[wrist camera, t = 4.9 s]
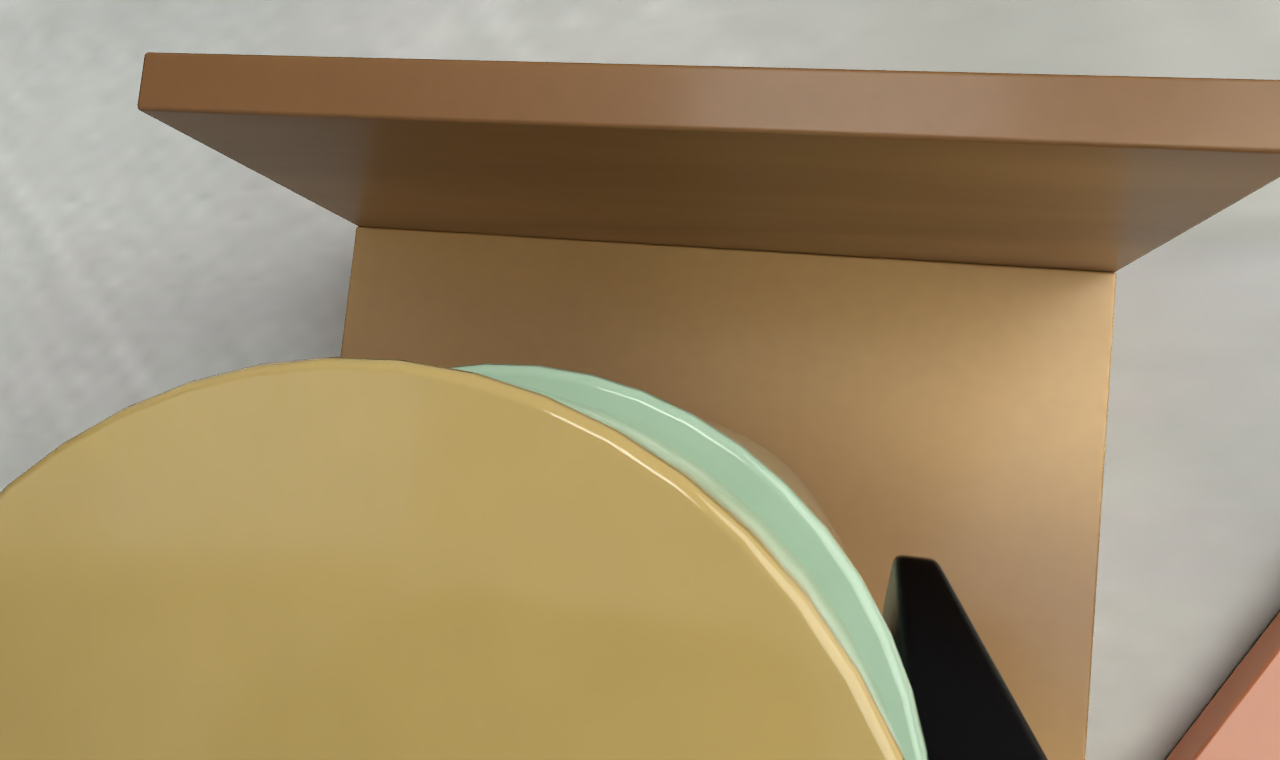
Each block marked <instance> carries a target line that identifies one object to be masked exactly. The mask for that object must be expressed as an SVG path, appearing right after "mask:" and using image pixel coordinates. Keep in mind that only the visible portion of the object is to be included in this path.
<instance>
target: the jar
mask: <svg viewBox="0 0 1280 760" xmlns="http://www.w3.org/2000/svg"><path fill="white" fill-rule="evenodd" d="M0 760H928V753H927V749H926V745H925V740H924V736H923V732H922V728H921V723H920V719H919V715H918V711H917V706H916V702H915V698H914V694H913V690H912V687H911V685H910V682H909V679H908V677H907V674H906V672H905V669H904V666H903V664H902V661H901V658H900V656H899V653H898V650H897V648H896V645H895V642H894V640H893V637H892V634H891V632H890V630H889V628H888V626H887V624H886V622H885V620H884V619H883V617H882V615H881V613H880V611H879V609H878V607H877V605H876V603H875V601H874V600H873V598H872V596H871V594H870V592H869V590H868V588H867V586H866V584H865V583H864V581H863V579H862V577H861V575H860V573H859V572H858V570H857V568H856V566H855V564H854V563H853V561H852V559H851V557H850V556H849V554H848V552H847V550H846V548H845V547H844V545H843V543H842V541H841V540H840V538H839V536H838V534H837V532H836V531H835V529H834V527H833V525H832V524H831V522H830V520H829V518H828V516H827V515H826V513H825V511H824V509H823V508H822V506H821V504H820V502H819V501H818V499H817V498H816V497H815V495H814V494H813V492H812V491H811V490H810V488H809V487H808V485H807V484H806V483H805V482H804V481H803V480H802V478H801V477H800V476H799V475H798V474H797V473H796V472H795V471H794V470H793V469H792V468H791V467H790V466H789V465H788V464H787V463H786V462H784V461H783V460H782V459H781V458H780V457H778V456H777V455H776V454H775V453H774V452H772V451H770V450H769V449H767V448H766V447H764V446H763V445H761V444H760V443H758V442H756V441H755V440H753V439H750V438H748V437H746V436H744V435H742V434H740V433H738V432H736V431H733V430H731V429H729V428H727V427H724V426H722V425H720V424H718V423H715V422H713V421H711V420H708V419H706V418H704V417H702V416H699V415H697V414H695V413H693V412H690V411H688V410H686V409H683V408H681V407H679V406H677V405H674V404H672V403H670V402H668V401H665V400H663V399H661V398H658V397H656V396H654V395H652V394H649V393H647V392H645V391H642V390H639V389H636V388H633V387H630V386H626V385H623V384H620V383H617V382H614V381H611V380H608V379H604V378H601V377H598V376H595V375H592V374H586V373H580V372H575V371H569V370H563V369H558V368H552V367H546V366H540V365H518V364H491V363H486V364H476V365H465V366H455V367H441V366H435V365H429V364H424V363H418V362H413V361H407V360H401V359H374V358H348V357H324V358H314V359H304V360H295V361H285V362H275V363H265V364H258V365H254V366H250V367H246V368H242V369H238V370H234V371H230V372H226V373H222V374H218V375H214V376H210V377H206V378H202V379H198V380H193V381H191V382H188V383H186V384H183V385H181V386H178V387H176V388H173V389H171V390H168V391H166V392H163V393H161V394H158V395H156V396H153V397H151V398H148V399H146V400H143V401H141V402H138V403H136V404H133V405H131V406H129V407H127V408H125V409H123V410H121V411H119V412H118V413H116V414H114V415H112V416H111V417H109V418H107V419H105V420H103V421H102V422H100V423H98V424H96V425H95V426H93V427H91V428H89V429H88V430H86V431H84V432H82V433H80V434H79V435H77V436H75V437H73V438H72V439H70V440H68V441H66V442H65V443H63V444H62V445H60V446H59V447H58V448H56V449H55V450H54V451H52V452H51V453H50V454H48V455H47V456H46V457H44V458H43V459H42V460H40V461H39V462H38V463H36V464H35V465H34V466H32V467H31V468H30V469H28V470H27V471H26V472H24V473H23V474H22V475H21V476H19V477H18V478H17V479H15V480H14V481H13V482H11V483H10V484H9V485H8V486H7V487H6V488H4V489H3V490H2V491H1V492H0Z"/></svg>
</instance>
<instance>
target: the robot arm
mask: <svg viewBox="0 0 1280 760" xmlns="http://www.w3.org/2000/svg"><path fill="white" fill-rule="evenodd" d="M882 617H883V619H884V620H885V622H886V624H887V626H888V628H889V630H890V632H891V634H892V637H893V640H894V642H895V645H896V648H897V650H898V653H899V656H900V658H901V661H902V664H903V666H904V669H905V672H906V674H907V677H908V679H909V682H910V685H911V687H912V690H913V694H914V698H915V702H916V706H917V711H918V715H919V719H920V723H921V728H922V732H923V736H924V740H925V745H926V749H927V753H928V760H1048V759H1047V757H1046V755H1045V753H1044V751H1043V750H1042V748H1041V746H1040V744H1039V742H1038V741H1037V739H1036V737H1035V735H1034V733H1033V732H1032V730H1031V728H1030V726H1029V724H1028V723H1027V721H1026V719H1025V717H1024V715H1023V714H1022V712H1021V710H1020V708H1019V706H1018V705H1017V703H1016V701H1015V699H1014V697H1013V696H1012V694H1011V692H1010V690H1009V688H1008V687H1007V685H1006V683H1005V681H1004V679H1003V678H1002V676H1001V674H1000V672H999V670H998V669H997V667H996V665H995V663H994V662H993V660H992V658H991V656H990V654H989V653H988V651H987V649H986V647H985V645H984V644H983V642H982V640H981V638H980V636H979V635H978V633H977V631H976V629H975V627H974V626H973V624H972V622H971V620H970V618H969V617H968V615H967V613H966V611H965V609H964V608H963V606H962V604H961V602H960V600H959V599H958V597H957V595H956V593H955V591H954V590H953V588H952V586H951V584H950V582H949V581H948V579H947V577H946V575H945V573H944V572H943V570H942V568H941V567H940V565H939V564H938V563H937V562H936V561H935V560H934V559H931V558H925V557H917V556H908V555H898V556H896V557H895V558H894V560H893V563H892V567H891V572H890V577H889V581H888V586H887V591H886V596H885V600H884V606H883V615H882Z"/></svg>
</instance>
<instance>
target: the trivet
mask: <svg viewBox="0 0 1280 760" xmlns="http://www.w3.org/2000/svg"><path fill="white" fill-rule="evenodd" d="M1166 760H1280V612H1279V613H1278V614H1277V616H1276V617H1275V618H1274V620H1273V621H1272V622H1271V623H1270V625H1269V626H1268V627H1267V629H1266V630H1265V631H1264V633H1263V634H1262V635H1261V636H1260V638H1259V639H1258V640H1257V642H1256V643H1255V644H1254V645H1253V647H1252V648H1251V649H1250V651H1249V652H1248V653H1247V655H1246V656H1245V657H1244V658H1243V660H1242V661H1241V662H1240V664H1239V665H1238V666H1237V668H1236V669H1235V670H1234V671H1233V673H1232V674H1231V675H1230V677H1229V678H1228V679H1227V681H1226V682H1225V683H1224V684H1223V686H1222V687H1221V688H1220V690H1219V691H1218V692H1217V694H1216V695H1215V696H1214V697H1213V699H1212V700H1211V701H1210V703H1209V704H1208V705H1207V707H1206V708H1205V709H1204V710H1203V712H1202V713H1201V714H1200V716H1199V717H1198V718H1197V720H1196V721H1195V722H1194V723H1193V725H1192V726H1191V727H1190V729H1189V730H1188V731H1187V733H1186V734H1185V735H1184V736H1183V738H1182V739H1181V740H1180V742H1179V743H1178V744H1177V746H1176V747H1175V748H1174V749H1173V751H1172V752H1171V753H1170V755H1169V756H1168V757H1167V759H1166Z"/></svg>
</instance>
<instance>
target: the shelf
mask: <svg viewBox="0 0 1280 760" xmlns="http://www.w3.org/2000/svg"><path fill="white" fill-rule="evenodd" d="M138 109H139V110H141V111H142V112H144V113H146V114H148V115H150V116H152V117H154V118H156V119H158V120H159V121H161V122H163V123H165V124H167V125H169V126H171V127H173V128H175V129H176V130H178V131H180V132H182V133H184V134H186V135H188V136H190V137H191V138H193V139H195V140H197V141H199V142H201V143H203V144H205V145H207V146H208V147H210V148H212V149H214V150H216V151H218V152H220V153H222V154H224V155H225V156H227V157H229V158H231V159H233V160H235V161H237V162H239V163H241V164H242V165H244V166H246V167H248V168H250V169H252V170H254V171H256V172H258V173H259V174H261V175H263V176H265V177H267V178H269V179H271V180H273V181H275V182H276V183H278V184H280V185H282V186H284V187H286V188H288V189H290V190H291V191H293V192H295V193H297V194H299V195H301V196H303V197H305V198H307V199H308V200H310V201H312V202H314V203H316V204H318V205H320V206H322V207H324V208H325V209H327V210H329V211H331V212H333V213H335V214H337V215H339V216H341V217H342V218H344V219H346V220H348V221H350V222H352V223H354V224H356V225H358V226H359V227H357V229H356V237H355V245H354V253H353V261H352V269H351V277H350V285H349V293H348V301H347V309H346V317H345V325H344V333H343V341H342V349H341V357H348V358H374V359H401V360H407V361H413V362H418V363H424V364H429V365H435V366H441V367H455V366H465V365H476V364H486V363H491V364H518V365H540V366H546V367H552V368H558V369H563V370H569V371H575V372H580V373H586V374H592V375H595V376H598V377H601V378H604V379H608V380H611V381H614V382H617V383H620V384H623V385H626V386H630V387H633V388H636V389H639V390H642V391H645V392H647V393H649V394H652V395H654V396H656V397H658V398H661V399H663V400H665V401H668V402H670V403H672V404H674V405H677V406H679V407H681V408H683V409H686V410H688V411H690V412H693V413H695V414H697V415H699V416H702V417H704V418H706V419H708V420H711V421H713V422H715V423H718V424H720V425H722V426H724V427H727V428H729V429H731V430H733V431H736V432H738V433H740V434H742V435H744V436H746V437H748V438H750V439H753V440H755V441H756V442H758V443H760V444H761V445H763V446H764V447H766V448H767V449H769V450H770V451H772V452H774V453H775V454H776V455H777V456H778V457H780V458H781V459H782V460H783V461H784V462H786V463H787V464H788V465H789V466H790V467H791V468H792V469H793V470H794V471H795V472H796V473H797V474H798V475H799V476H800V477H801V478H802V480H803V481H804V482H805V483H806V484H807V485H808V487H809V488H810V490H811V491H812V492H813V494H814V495H815V497H816V498H817V499H818V501H819V502H820V504H821V506H822V508H823V509H824V511H825V513H826V515H827V516H828V518H829V520H830V522H831V524H832V525H833V527H834V529H835V531H836V532H837V534H838V536H839V538H840V540H841V541H842V543H843V545H844V547H845V548H846V550H847V552H848V554H849V556H850V557H851V559H852V561H853V563H854V564H855V566H856V568H857V570H858V572H859V573H860V575H861V577H862V579H863V581H864V583H865V584H866V586H867V588H868V590H869V592H870V594H871V596H872V598H873V600H874V601H875V603H876V605H877V607H878V609H879V611H880V613H881V615H883V606H884V600H885V596H886V591H887V586H888V581H889V577H890V572H891V567H892V563H893V560H894V558H895V557H896V556H898V555H908V556H917V557H925V558H931V559H934V560H935V561H936V562H937V563H938V564H939V565H940V567H941V568H942V570H943V572H944V573H945V575H946V577H947V579H948V581H949V582H950V584H951V586H952V588H953V590H954V591H955V593H956V595H957V597H958V599H959V600H960V602H961V604H962V606H963V608H964V609H965V611H966V613H967V615H968V617H969V618H970V620H971V622H972V624H973V626H974V627H975V629H976V631H977V633H978V635H979V636H980V638H981V640H982V642H983V644H984V645H985V647H986V649H987V651H988V653H989V654H990V656H991V658H992V660H993V662H994V663H995V665H996V667H997V669H998V670H999V672H1000V674H1001V676H1002V678H1003V679H1004V681H1005V683H1006V685H1007V687H1008V688H1009V690H1010V692H1011V694H1012V696H1013V697H1014V699H1015V701H1016V703H1017V705H1018V706H1019V708H1020V710H1021V712H1022V714H1023V715H1024V717H1025V719H1026V721H1027V723H1028V724H1029V726H1030V728H1031V730H1032V732H1033V733H1034V735H1035V737H1036V739H1037V741H1038V742H1039V744H1040V746H1041V748H1042V750H1043V751H1044V753H1045V755H1046V757H1047V759H1048V760H1085V753H1086V737H1087V722H1088V706H1089V691H1090V675H1091V660H1092V644H1093V629H1094V613H1095V598H1096V582H1097V567H1098V551H1099V536H1100V520H1101V505H1102V489H1103V474H1104V458H1105V443H1106V427H1107V412H1108V396H1109V381H1110V365H1111V350H1112V334H1113V319H1114V304H1115V288H1116V273H1114V272H1116V271H1117V270H1119V269H1121V268H1123V267H1124V266H1126V265H1128V264H1130V263H1131V262H1133V261H1135V260H1136V259H1138V258H1140V257H1142V256H1143V255H1145V254H1147V253H1149V252H1150V251H1152V250H1154V249H1156V248H1157V247H1159V246H1161V245H1163V244H1164V243H1166V242H1168V241H1170V240H1171V239H1173V238H1175V237H1176V236H1178V235H1180V234H1182V233H1183V232H1185V231H1187V230H1189V229H1190V228H1192V227H1194V226H1196V225H1197V224H1199V223H1201V222H1203V221H1204V220H1206V219H1208V218H1209V217H1211V216H1213V215H1215V214H1216V213H1218V212H1220V211H1222V210H1223V209H1225V208H1227V207H1229V206H1230V205H1232V204H1234V203H1236V202H1237V201H1239V200H1241V199H1243V198H1244V197H1246V196H1248V195H1249V194H1251V193H1253V192H1255V191H1256V190H1258V189H1260V188H1262V187H1263V186H1265V185H1267V184H1269V183H1270V182H1272V181H1274V180H1276V179H1277V178H1279V177H1280V80H1255V79H1214V78H1173V77H1132V76H1091V75H1050V74H1009V73H968V72H927V71H886V70H845V69H804V68H763V67H722V66H682V65H641V64H600V63H559V62H518V61H477V60H436V59H395V58H354V57H313V56H272V55H231V54H190V53H149V52H148V53H146V54H145V57H144V64H143V71H142V78H141V85H140V92H139V99H138Z"/></svg>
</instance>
